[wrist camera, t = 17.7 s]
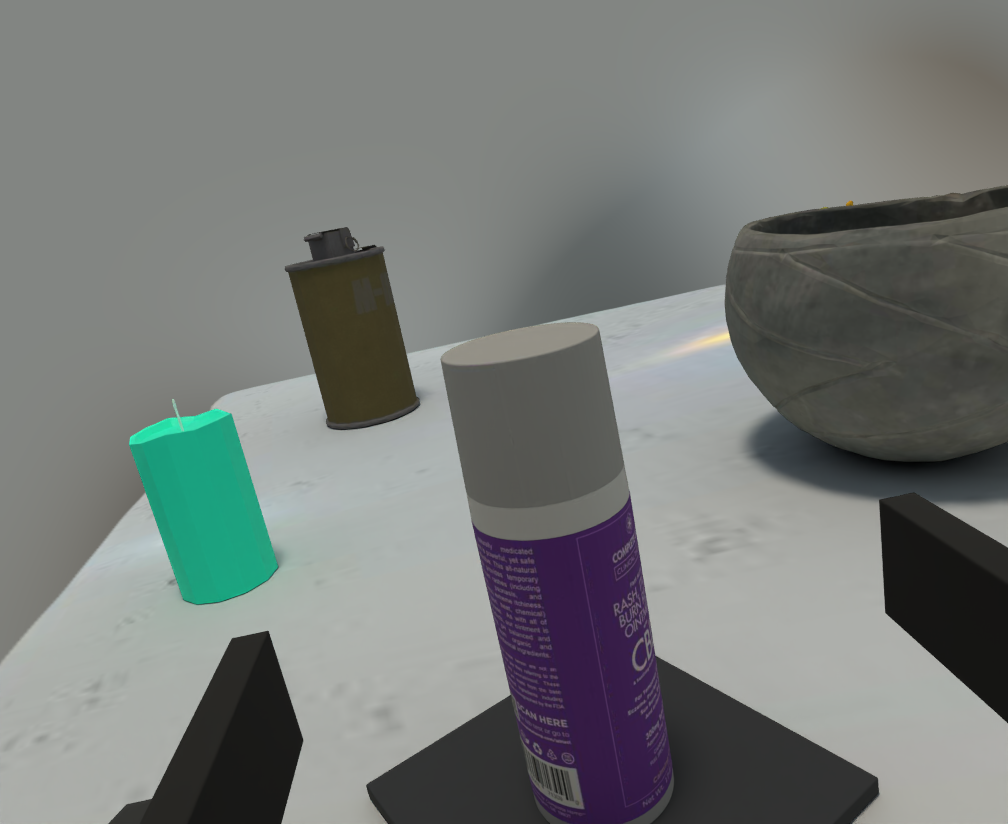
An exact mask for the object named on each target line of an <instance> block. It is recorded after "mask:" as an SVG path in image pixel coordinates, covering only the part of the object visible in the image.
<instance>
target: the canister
mask: <svg viewBox="0 0 1008 824" xmlns="http://www.w3.org/2000/svg"><path fill="white" fill-rule="evenodd" d="M353 240H354V241H355V242H356V243H357V244H358V242H357V240H356V239H355V238H354V237H353V238H352V236H351V233H350V231H349V229H348V228H347V227H345V228H340V229H335V230H329V231H324V232H319V234H315V235H311V234H309V235H308V236H307V237H304V241H305V242H309V246H310V250H311V254H312V258H313V260H310V261H305V262H300V263H296V264H292V265H288V266H285V271H286V272H288V273H289V277H290V280H291V284H292V288H293V292H294V295H295V299H296V303H297V306H298V310H299V314H300V317H301V321H302V325H303V328H304V332H305V336H306V340H307V343H308V347H309V351H310V354H311V357H312V361H313V365H314V369H315V373H316V377H317V380H318V384H319V388H320V391H321V395H322V399H323V402H324V406H325V410H326V413H327V417H328V418H327V419H326V424H327V425H328V426H329V427H331V428H336V429H353V428H361V427H366V426H370V425H374V424H379V423H383V422H387V421H390V420H393V419H395V418H398V417H400V416H403V415H405V414H407V413H409V412H411V411H413V410H414V409H415V408H416V407H417V406H418V405H419V403H420V402H419V398H418V397H416V393H415V389H414V385H413V381H412V376H411V372H410V368H409V363H408V359H407V355H406V351H405V346H404V342H403V338H402V334H401V329H400V325H399V321H398V316H397V312H396V308H395V303H394V299H393V295H392V291H391V286H390V282H389V278H388V273H387V269H386V265H385V260H384V256H383V252H384V247H376V246H375V245H372V246H366V247H361V248H362V249H363V250H359V251H357V250H358V249H359V244H358V248H357V250H354V249H353V246H355V245H354V242H353Z"/></svg>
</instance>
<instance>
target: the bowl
mask: <svg viewBox="0 0 1008 824" xmlns="http://www.w3.org/2000/svg"><path fill="white" fill-rule="evenodd" d="M725 313H726V322H727V326H728V330H729V334H730V339H731V342H732V345H733V348H734V350H735V353H736V355H737V358H738V360H739V361H740V363H741V365H742V366H743V368H744V370H745V372H746V373H747V375H748V377H749V378H750V379H751V381H752V382H753V383H754V384H755V385H756V387H757V388H758V389H759V390H760V391H761V393H762V394H763V395H764V396H765V397H766V399H767V400H768V401H769V402H770V403H771V404H772V406H773V407H775V408H776V409H777V410H778V412H779V413H781V414H782V415H783V416H784V417H785V418H786V419H787V420H788V421H790V422H791V423H793V424H794V425H795V426H797V427H798V428H800V429H801V430H803V431H805V432H808V433H809V434H811V435H812V436H814V437H816V438H818V439H820V440H822V441H824V442H826V443H828V444H830V445H833V446H835V447H838V448H840V449H844V450H848V451H851V452H854V453H857V454H860V455H863V456H867V457H872V458H876V459H881V460H890V461H903V462H924V461H945V460H949V459H953V458H957V457H961V456H965V455H969V454H973V453H976V452H980V451H983V450H986V449H989V448H992V447H995V446H997V445H1000V444H1003V443H1006V442H1008V185H1007V186H1000V187H995V188H990V189H983V190H977V191H973V192H969V193H965V194H958V193H950V194H947V195H939V196H938V195H936V196H932V197H920V198H909V199H899V200H892V201H883V202H875V203H867V204H860V205H853V206H841V207H832V208H822V209H813V210H807V211H801V212H795V213H789V214H784V215H780V216H775V217H769V218H765V219H762V220H758V221H754V222H751V223H749V224H747V225H745V226H744V227H743V228H742V229H741V231H740V232H739V234H738V236H737V239H736V241H735V245H734V248H733V250H732V253H731V257H730V260H729V264H728V270H727V276H726V291H725Z"/></svg>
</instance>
